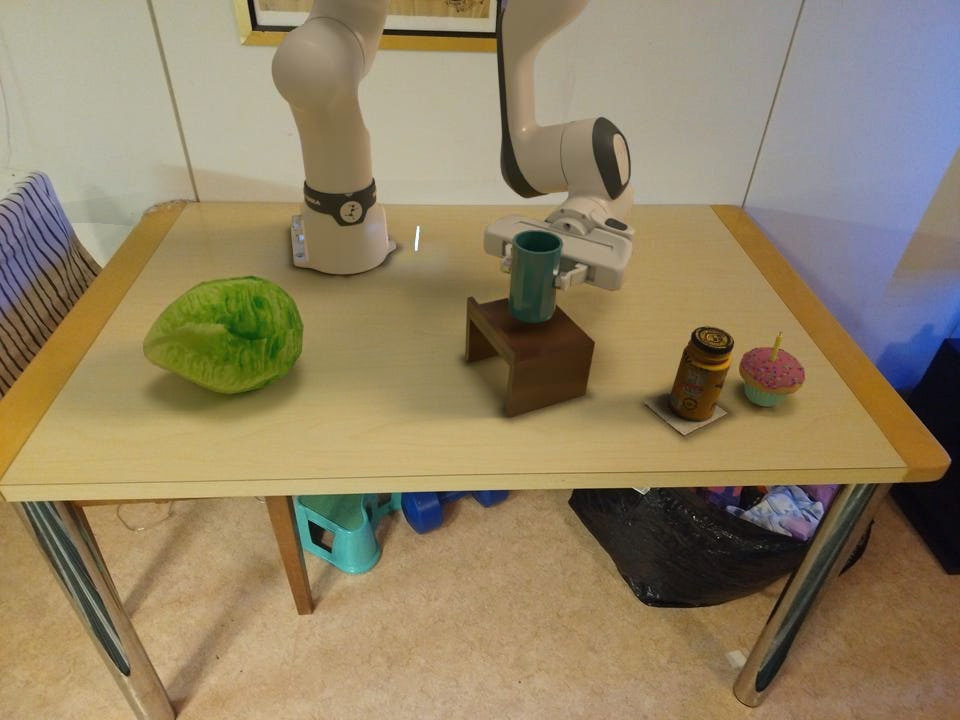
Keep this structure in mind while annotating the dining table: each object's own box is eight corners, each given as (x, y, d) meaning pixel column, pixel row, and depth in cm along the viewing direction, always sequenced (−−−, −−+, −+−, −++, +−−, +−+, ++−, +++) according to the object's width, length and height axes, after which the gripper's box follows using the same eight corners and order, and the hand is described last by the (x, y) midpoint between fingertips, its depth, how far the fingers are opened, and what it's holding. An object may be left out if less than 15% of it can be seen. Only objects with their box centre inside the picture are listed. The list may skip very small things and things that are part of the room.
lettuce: (184, 361, 97) (150, 266, 89) (321, 345, 98) (300, 250, 90) (148, 429, 83) (103, 324, 75) (309, 410, 84) (282, 304, 76)
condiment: (727, 414, 89) (753, 342, 82) (683, 436, 85) (707, 363, 78) (686, 384, 94) (707, 314, 87) (644, 404, 90) (662, 333, 83)
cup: (499, 302, 88) (503, 235, 82) (539, 293, 90) (546, 226, 84) (522, 327, 84) (528, 257, 78) (563, 316, 86) (572, 248, 80)
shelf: (464, 358, 97) (467, 297, 90) (535, 339, 101) (542, 280, 95) (509, 417, 87) (515, 353, 80) (585, 394, 91) (597, 332, 85)
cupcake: (773, 424, 88) (804, 353, 81) (718, 392, 93) (742, 322, 86) (804, 398, 93) (836, 328, 85) (750, 369, 97) (776, 300, 90)
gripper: (510, 196, 95) (461, 232, 85) (647, 231, 87) (611, 276, 77) (507, 235, 98) (460, 275, 89) (638, 273, 91) (603, 321, 81)
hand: (532, 276), depth 83 cm, fingers closed on cup, 6 cm apart
